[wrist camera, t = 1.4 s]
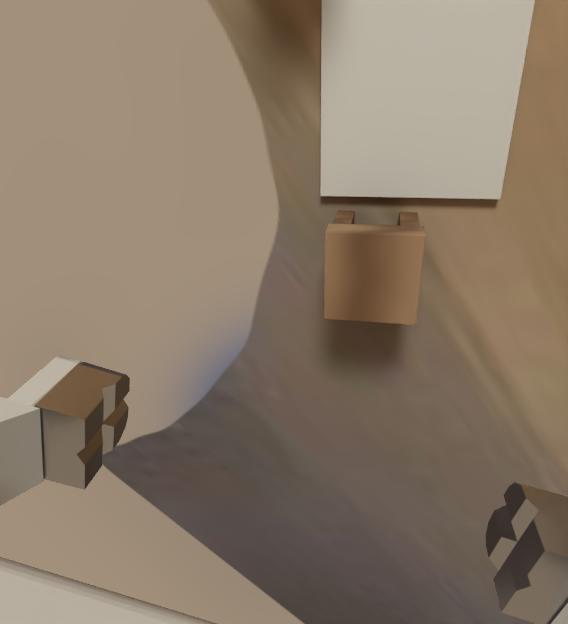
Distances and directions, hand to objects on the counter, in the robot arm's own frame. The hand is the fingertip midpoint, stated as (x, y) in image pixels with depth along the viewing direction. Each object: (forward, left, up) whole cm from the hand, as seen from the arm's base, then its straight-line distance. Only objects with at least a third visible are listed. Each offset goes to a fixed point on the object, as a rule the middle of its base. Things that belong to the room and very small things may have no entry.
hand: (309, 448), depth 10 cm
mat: (-3, -5, -27) cm, 28 cm away
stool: (-1, +5, -27) cm, 27 cm away
